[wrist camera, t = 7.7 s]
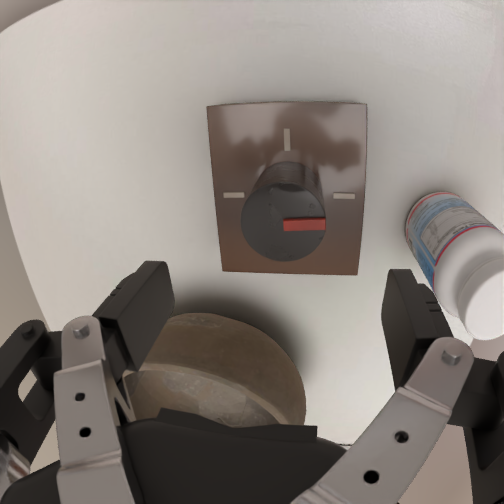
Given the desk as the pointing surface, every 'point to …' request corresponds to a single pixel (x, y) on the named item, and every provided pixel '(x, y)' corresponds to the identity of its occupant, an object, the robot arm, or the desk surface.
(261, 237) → the knob
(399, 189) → the desk surface
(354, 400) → the desk surface
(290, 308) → the desk surface
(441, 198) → the pill bottle
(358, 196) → the panel
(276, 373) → the bowl
